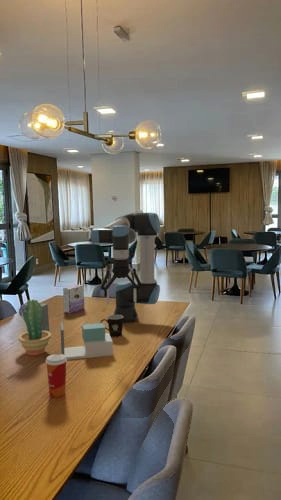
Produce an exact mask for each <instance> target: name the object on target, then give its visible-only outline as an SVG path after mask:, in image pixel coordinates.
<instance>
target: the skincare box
mask: <svg viewBox="0 0 281 500" xmlns="http://www.w3.org/2000/svg"><path fill="white" fill-rule="evenodd" d="M40 304H41V306H42V308H43V309H42V320H41V327H42V331H48V332H50V322H49V321H50V320H49V319H50V318H49V307H48V303H40Z"/></svg>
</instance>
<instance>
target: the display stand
mask: <svg viewBox="0 0 281 500" xmlns="http://www.w3.org/2000/svg"><path fill="white" fill-rule="evenodd" d="M59 324H60V347H61V348H60V349H61V350H60V351H61V354H63V355H65V356H66V359H67V361H69V360H71V361H72V360H79V359H89V358H97V357H98V358H99V357H109V356H114V347H113V346H114V345H113V344H114V342H113V341H114V340H113V339H112V337H111V336H110V333H109V332H105V340H100V341H89V342H84V341H83V342H84V345H81V346H72V347H70V346H69V347H65V332H64V331H65V330H64V323H63V321H60V323H59Z"/></svg>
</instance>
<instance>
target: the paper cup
mask: <svg viewBox="0 0 281 500" xmlns="http://www.w3.org/2000/svg"><path fill="white" fill-rule="evenodd" d="M67 361H68V360H67V359H66V356H65V355H63V354H62V353H60V354H59V353H56V354H54V353H53V354H50V355H47V357H46V360H45V364H46V373H47V382H48V391H49V393H48V394H49V396H50V397H52V398H61V397H63V396H65V394H66V377H67V375H66V373H67Z"/></svg>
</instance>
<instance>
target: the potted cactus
mask: <svg viewBox="0 0 281 500" xmlns="http://www.w3.org/2000/svg"><path fill="white" fill-rule="evenodd" d="M41 304H42V303H40V302H39V301H38V300H37V299H32V300H31V299H28V300H27V302H26V303H23V304H22V305H20V307H19V308H18V314H19V316H20V317H21V318H22V319H23V321H24V323H25V326H26V332H23V333H21V334H19V335H18V337H17V339H18V342H20V344H21V346H22V348H23V349H24V350H25V354H26V355H29V356H39V355H42V354H44V353H45V352H46V348H47V346H48V343H49V341H50V339H52V338H51V337H52V333H51V332H50V331H49V332H48V331H42V327H41V320H42V309H43V308H42V306H41Z"/></svg>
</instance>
